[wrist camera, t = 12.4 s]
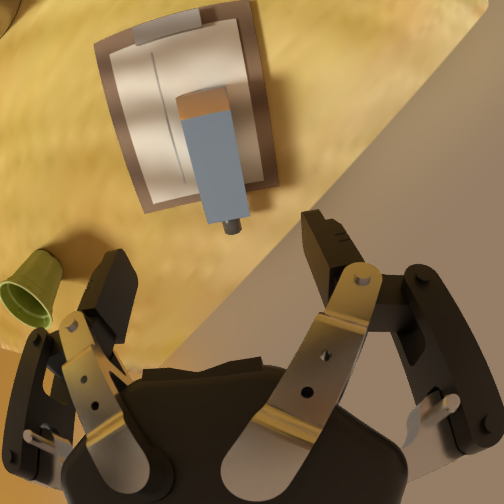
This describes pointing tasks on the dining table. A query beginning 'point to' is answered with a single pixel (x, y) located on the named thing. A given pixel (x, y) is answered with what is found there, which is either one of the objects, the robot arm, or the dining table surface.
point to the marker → (214, 155)
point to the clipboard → (181, 82)
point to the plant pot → (33, 290)
